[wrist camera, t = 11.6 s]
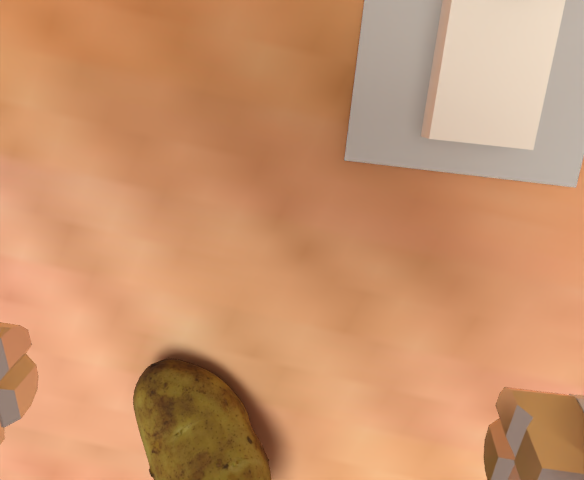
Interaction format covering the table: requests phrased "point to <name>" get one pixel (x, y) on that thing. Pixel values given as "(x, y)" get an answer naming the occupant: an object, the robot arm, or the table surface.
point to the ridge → (471, 88)
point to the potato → (195, 426)
